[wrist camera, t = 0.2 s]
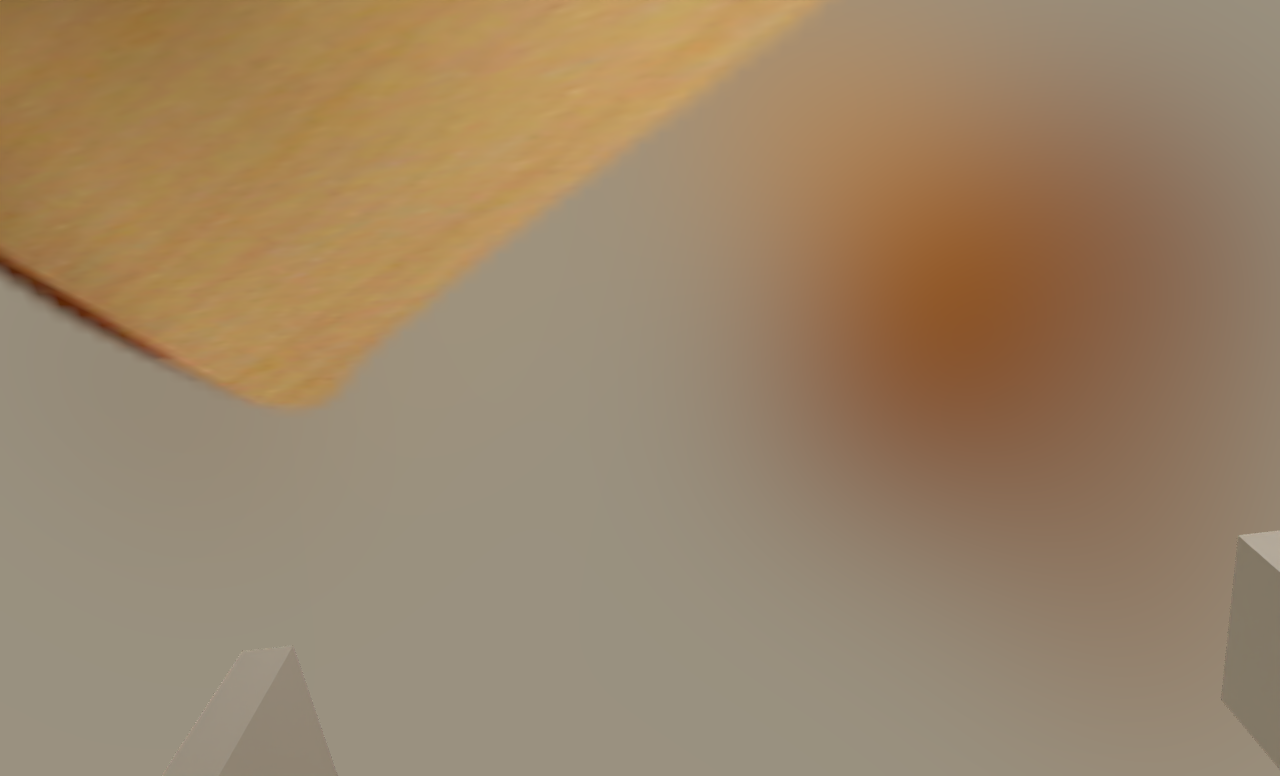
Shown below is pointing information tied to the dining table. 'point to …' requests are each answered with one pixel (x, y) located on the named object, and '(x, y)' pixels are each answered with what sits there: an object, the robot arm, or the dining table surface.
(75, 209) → the dining table surface
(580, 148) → the dining table surface
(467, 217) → the dining table surface
